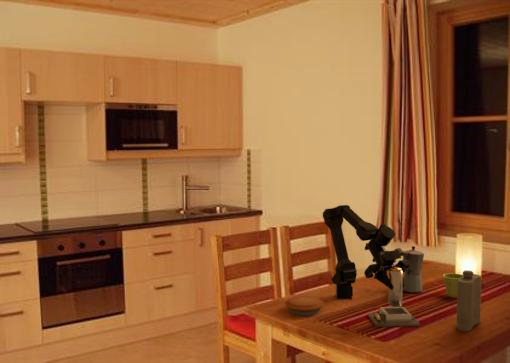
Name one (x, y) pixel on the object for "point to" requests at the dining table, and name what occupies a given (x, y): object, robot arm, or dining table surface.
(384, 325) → the dock
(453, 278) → the plant pot
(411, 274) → the moka pot
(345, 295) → the robot arm
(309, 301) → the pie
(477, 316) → the flask
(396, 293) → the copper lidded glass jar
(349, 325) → the dining table surface
